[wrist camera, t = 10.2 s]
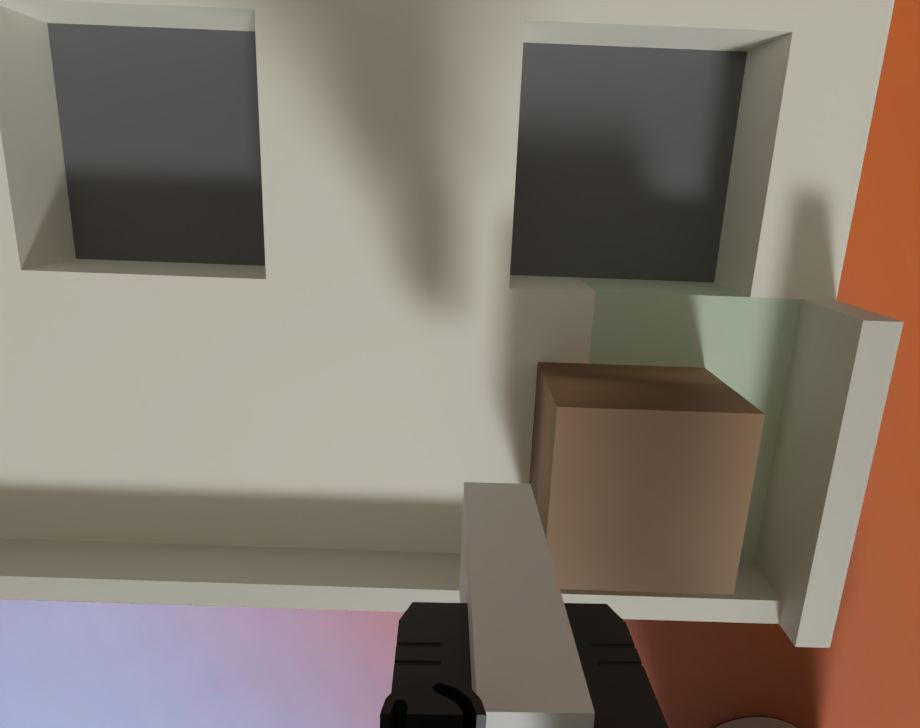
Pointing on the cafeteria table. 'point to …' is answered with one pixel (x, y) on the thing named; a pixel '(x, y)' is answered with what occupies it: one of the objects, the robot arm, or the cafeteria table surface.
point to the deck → (415, 281)
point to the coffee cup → (756, 723)
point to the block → (642, 476)
